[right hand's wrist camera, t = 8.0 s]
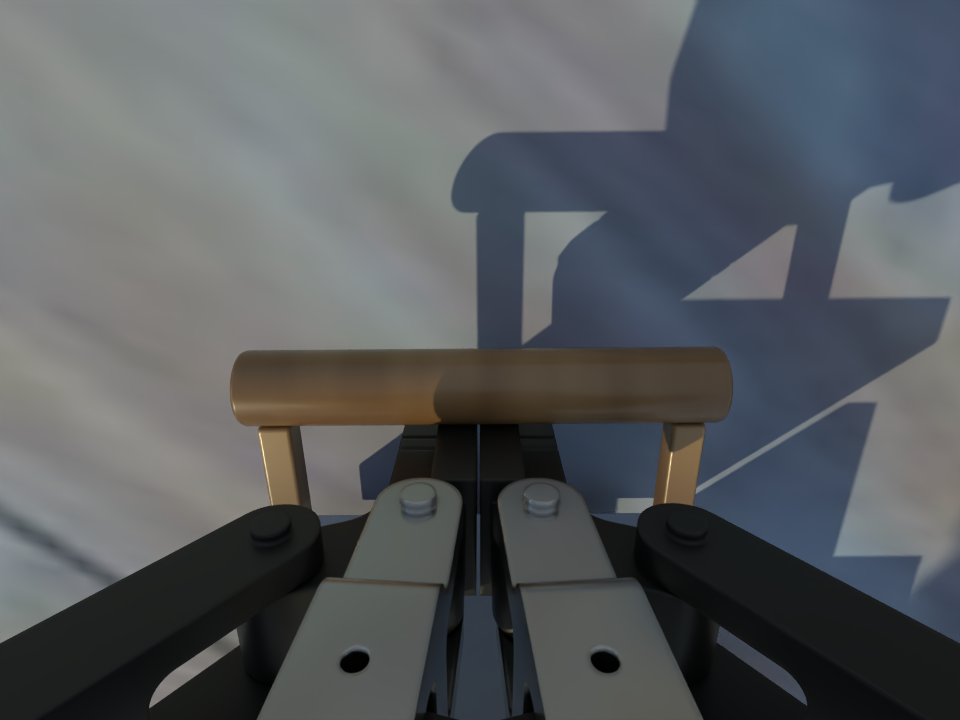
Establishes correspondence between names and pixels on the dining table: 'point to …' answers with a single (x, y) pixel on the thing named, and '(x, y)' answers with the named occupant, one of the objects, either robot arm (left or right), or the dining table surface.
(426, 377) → the drawer
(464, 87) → the dining table surface
